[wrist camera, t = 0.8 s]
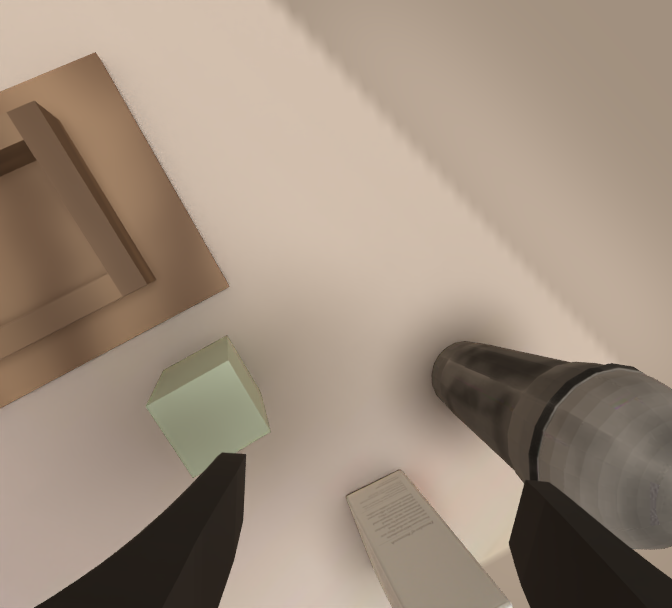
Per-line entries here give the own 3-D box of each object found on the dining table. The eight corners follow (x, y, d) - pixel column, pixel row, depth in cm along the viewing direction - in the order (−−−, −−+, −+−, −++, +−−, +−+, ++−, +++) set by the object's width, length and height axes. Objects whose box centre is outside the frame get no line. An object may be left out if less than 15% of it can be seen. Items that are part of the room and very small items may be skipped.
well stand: (-32, 423, 23) (-83, 458, 19) (-212, 191, 20) (-314, 177, 16) (228, 285, 25) (230, 291, 22) (101, 60, 23) (75, 21, 19)
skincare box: (428, 539, 31) (550, 713, 19) (372, 568, 30) (466, 769, 18) (401, 464, 30) (515, 602, 18) (343, 493, 29) (423, 656, 17)
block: (199, 427, 26) (192, 478, 20) (163, 370, 25) (145, 406, 19) (260, 392, 27) (270, 431, 21) (227, 335, 26) (228, 360, 20)
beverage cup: (498, 306, 30) (995, 410, 11) (519, 404, 31) (993, 654, 12) (400, 340, 28) (770, 531, 9) (426, 442, 30) (796, 794, 11)
